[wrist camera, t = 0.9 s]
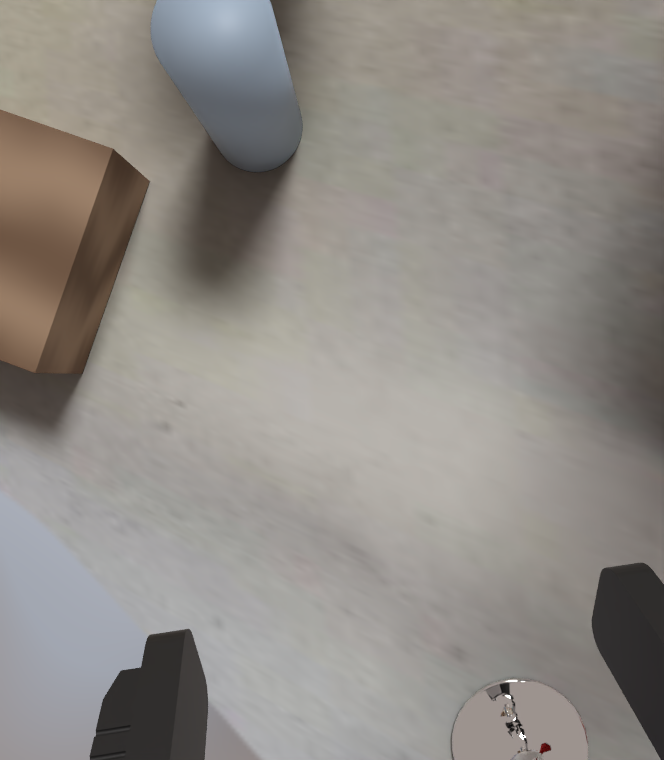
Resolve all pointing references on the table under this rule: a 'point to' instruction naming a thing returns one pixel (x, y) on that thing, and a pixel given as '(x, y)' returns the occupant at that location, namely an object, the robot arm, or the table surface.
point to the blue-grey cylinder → (231, 76)
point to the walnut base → (59, 241)
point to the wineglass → (519, 724)
